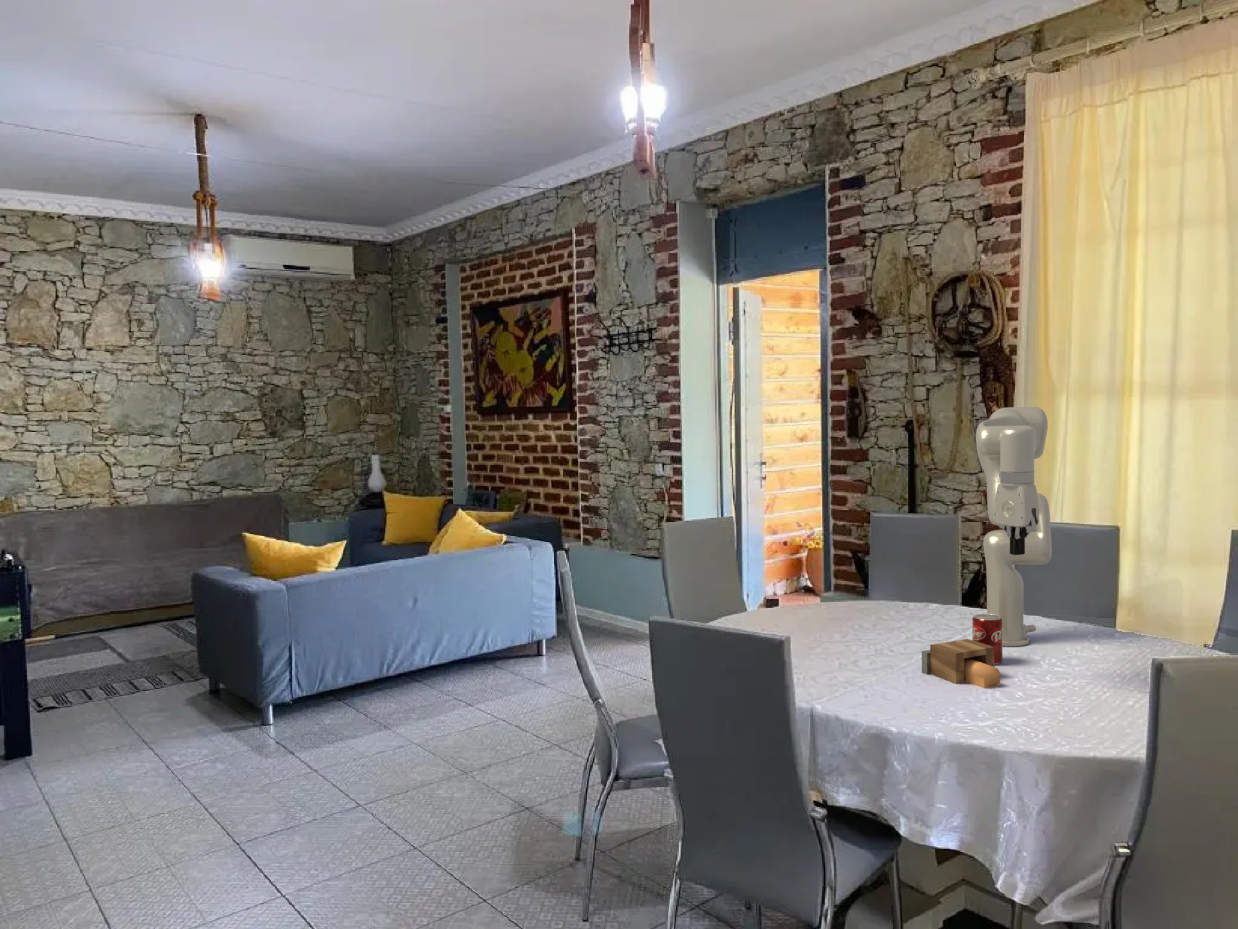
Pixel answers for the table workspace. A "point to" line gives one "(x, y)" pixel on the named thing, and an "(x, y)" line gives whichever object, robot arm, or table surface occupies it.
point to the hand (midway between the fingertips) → (1017, 554)
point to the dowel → (981, 674)
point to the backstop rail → (926, 662)
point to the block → (957, 658)
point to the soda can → (988, 633)
